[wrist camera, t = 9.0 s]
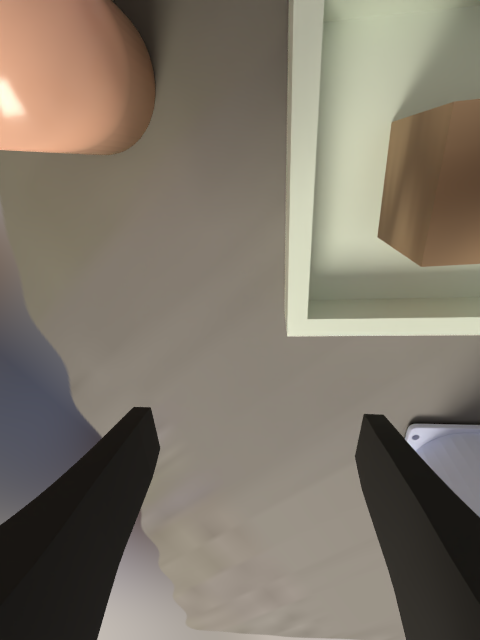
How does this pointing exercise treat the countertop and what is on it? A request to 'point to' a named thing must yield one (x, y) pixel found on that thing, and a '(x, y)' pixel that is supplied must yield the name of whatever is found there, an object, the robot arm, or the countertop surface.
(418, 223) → the walnut block
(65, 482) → the robot arm
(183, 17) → the countertop surface
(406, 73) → the pale green tray
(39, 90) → the terracotta cup
